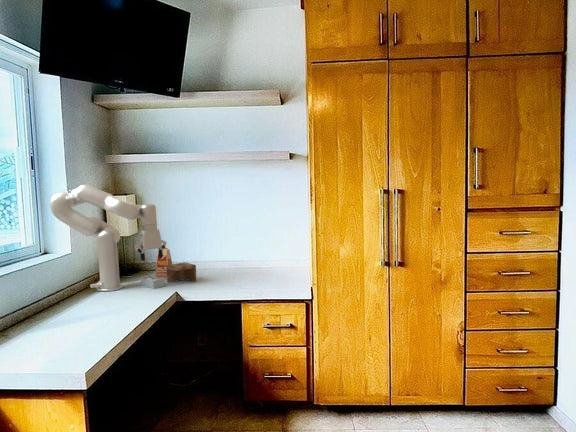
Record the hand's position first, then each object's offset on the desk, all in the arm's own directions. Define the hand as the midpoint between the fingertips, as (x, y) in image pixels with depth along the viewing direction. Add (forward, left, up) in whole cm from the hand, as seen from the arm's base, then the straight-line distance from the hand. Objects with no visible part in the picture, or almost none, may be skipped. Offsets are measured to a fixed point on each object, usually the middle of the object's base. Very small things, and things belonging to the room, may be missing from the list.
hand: (152, 259), depth 236 cm
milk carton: (+14, +16, -15) cm, 26 cm away
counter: (+15, -3, -15) cm, 21 cm away
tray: (0, 0, -15) cm, 15 cm away
